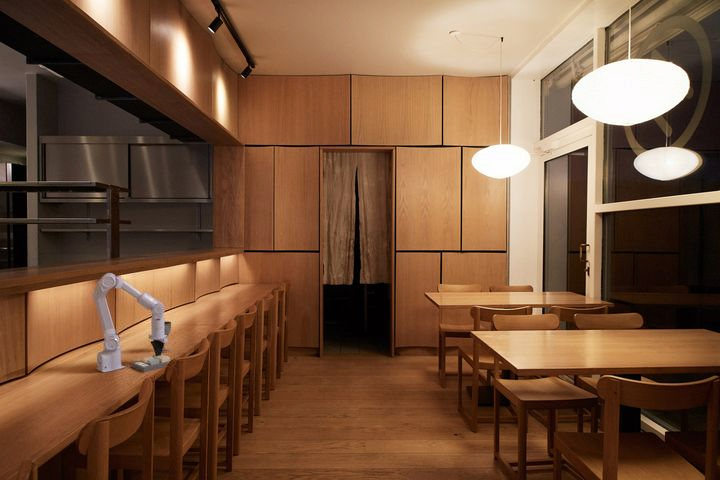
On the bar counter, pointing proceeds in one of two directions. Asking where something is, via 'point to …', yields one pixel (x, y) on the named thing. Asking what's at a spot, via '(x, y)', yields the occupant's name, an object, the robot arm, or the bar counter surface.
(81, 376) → the bar counter surface
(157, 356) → the key sage
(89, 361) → the bar counter surface
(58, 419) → the bar counter surface
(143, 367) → the keyguard
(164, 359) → the key sand
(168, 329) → the wine glass
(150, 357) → the key cream
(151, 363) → the key slate
